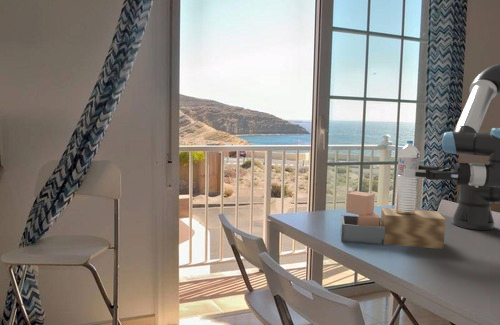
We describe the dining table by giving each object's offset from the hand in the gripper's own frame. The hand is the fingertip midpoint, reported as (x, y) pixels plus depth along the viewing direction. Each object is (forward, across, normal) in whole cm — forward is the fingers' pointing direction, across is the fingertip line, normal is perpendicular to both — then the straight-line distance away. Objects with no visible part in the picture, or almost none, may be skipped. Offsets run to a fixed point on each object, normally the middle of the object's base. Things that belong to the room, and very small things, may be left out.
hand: (401, 170), depth 146 cm
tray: (+12, 0, -24) cm, 27 cm away
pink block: (+10, +1, -20) cm, 23 cm away
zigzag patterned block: (-4, 0, -24) cm, 25 cm away
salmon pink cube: (+13, +4, -13) cm, 19 cm away
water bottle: (-2, 0, -15) cm, 15 cm away
